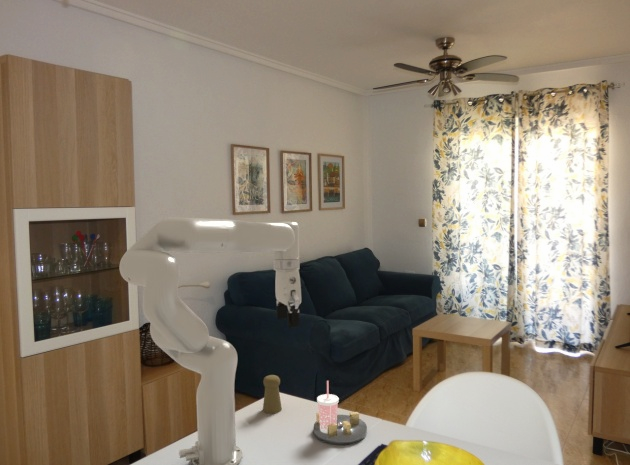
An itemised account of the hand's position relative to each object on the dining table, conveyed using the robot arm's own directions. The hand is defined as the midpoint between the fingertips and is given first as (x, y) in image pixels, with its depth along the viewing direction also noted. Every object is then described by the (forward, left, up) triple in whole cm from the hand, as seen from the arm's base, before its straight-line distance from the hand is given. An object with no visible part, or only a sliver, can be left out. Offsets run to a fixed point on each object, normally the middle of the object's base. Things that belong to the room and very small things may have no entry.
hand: (287, 322), depth 148 cm
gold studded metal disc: (+11, -12, -30) cm, 34 cm away
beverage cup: (+7, -12, -29) cm, 32 cm away
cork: (-2, +10, -31) cm, 32 cm away
